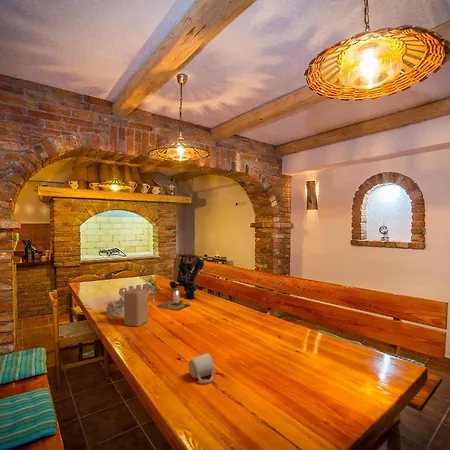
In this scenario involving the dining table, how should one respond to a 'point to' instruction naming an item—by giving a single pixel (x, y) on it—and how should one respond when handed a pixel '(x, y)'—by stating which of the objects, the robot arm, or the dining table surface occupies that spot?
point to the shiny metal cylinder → (176, 297)
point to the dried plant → (148, 279)
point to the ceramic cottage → (116, 308)
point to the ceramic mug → (201, 367)
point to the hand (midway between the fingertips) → (179, 295)
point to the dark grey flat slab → (170, 306)
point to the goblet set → (145, 286)
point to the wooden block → (135, 307)
